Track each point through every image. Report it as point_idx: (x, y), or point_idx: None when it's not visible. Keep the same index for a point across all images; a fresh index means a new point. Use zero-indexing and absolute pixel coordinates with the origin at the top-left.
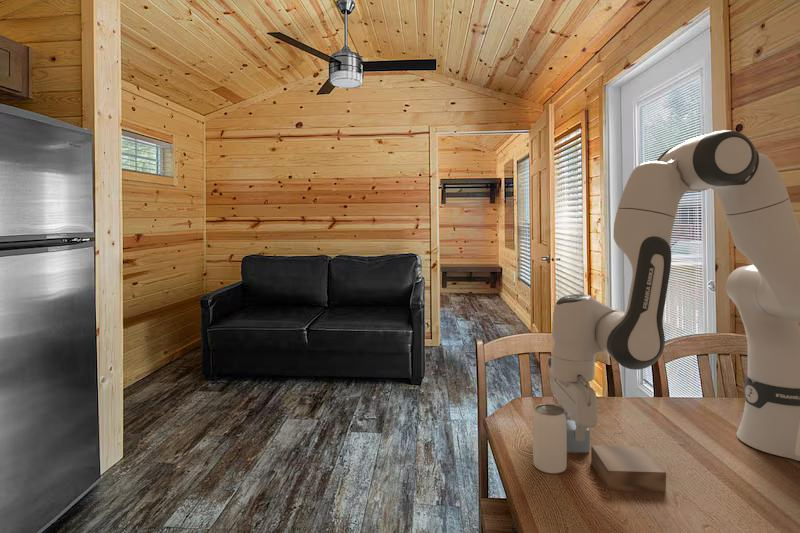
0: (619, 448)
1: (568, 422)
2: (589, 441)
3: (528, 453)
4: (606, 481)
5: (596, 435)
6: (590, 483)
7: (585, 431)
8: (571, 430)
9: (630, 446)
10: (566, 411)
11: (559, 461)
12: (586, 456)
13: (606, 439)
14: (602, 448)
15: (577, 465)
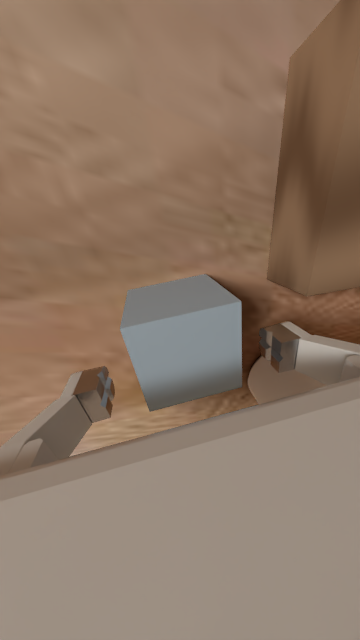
0: (357, 170)
1: (162, 381)
2: (218, 285)
3: (223, 407)
4: None
5: (42, 218)
6: (356, 295)
7: (330, 339)
8: (241, 370)
9: (356, 80)
10: (73, 412)
11: None
12: (233, 287)
13: (72, 175)
14: (338, 257)
15: (279, 315)
